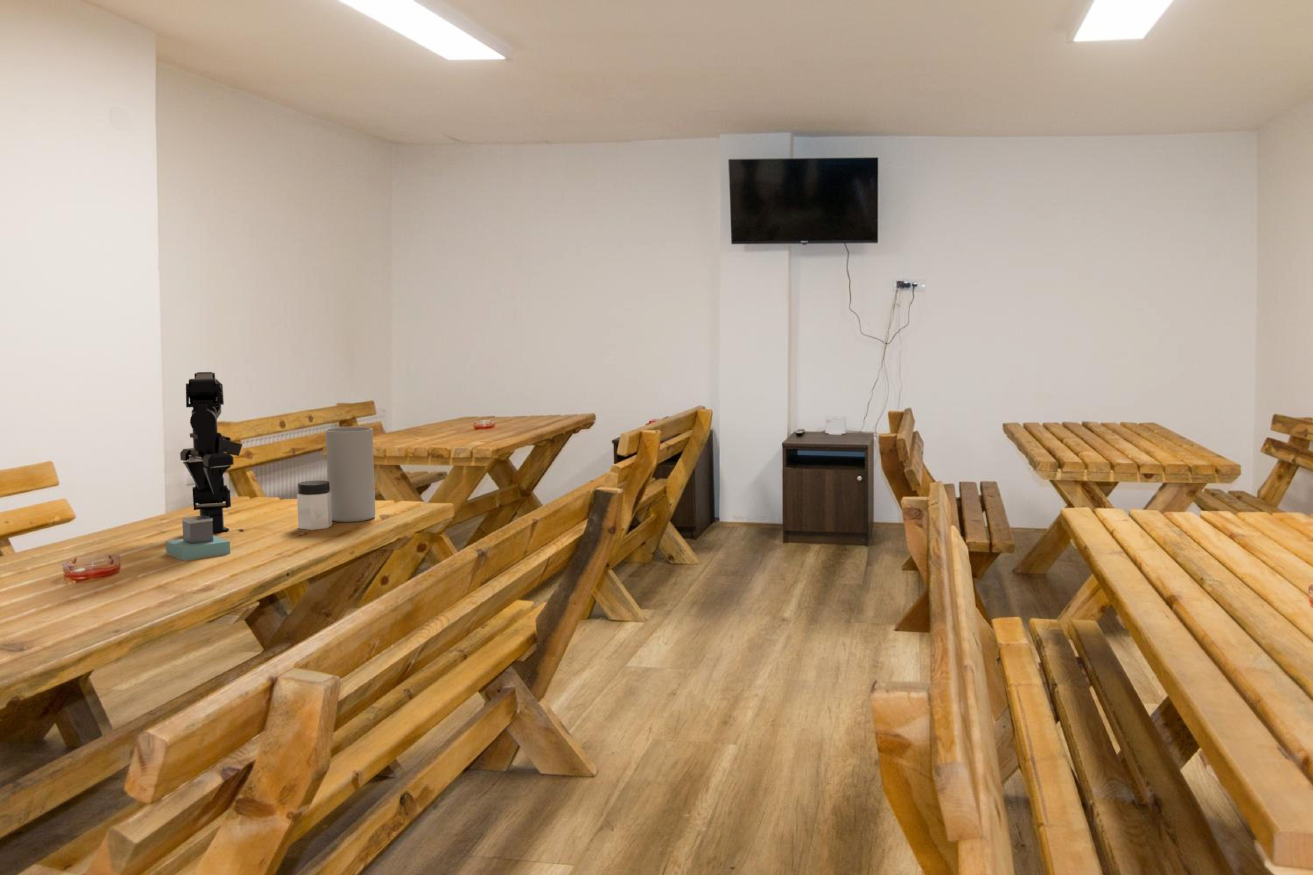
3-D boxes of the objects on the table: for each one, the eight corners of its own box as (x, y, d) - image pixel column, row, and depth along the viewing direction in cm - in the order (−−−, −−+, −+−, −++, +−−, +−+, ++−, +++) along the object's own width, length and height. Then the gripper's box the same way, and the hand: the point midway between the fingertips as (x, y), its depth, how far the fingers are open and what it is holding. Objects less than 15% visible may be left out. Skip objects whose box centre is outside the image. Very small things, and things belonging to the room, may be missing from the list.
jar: (302, 531, 287) (301, 486, 286) (294, 526, 294) (292, 482, 293) (336, 527, 292) (335, 483, 291) (327, 522, 299) (325, 479, 298)
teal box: (166, 555, 263) (165, 541, 262) (212, 548, 270) (211, 534, 270) (183, 562, 255) (182, 548, 254) (230, 555, 262) (229, 541, 262)
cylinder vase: (383, 515, 310) (380, 427, 307) (361, 523, 298) (358, 432, 295) (343, 513, 313) (340, 426, 310) (320, 521, 300) (316, 431, 298)
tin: (182, 540, 262) (181, 517, 262) (205, 537, 266) (204, 515, 265) (190, 544, 258) (189, 521, 258) (213, 541, 262) (212, 518, 261)
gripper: (252, 429, 270) (255, 491, 271) (221, 423, 283) (224, 483, 285) (207, 433, 262) (210, 497, 264) (177, 427, 275) (181, 488, 277)
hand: (208, 491), depth 272 cm, fingers open, 9 cm apart
